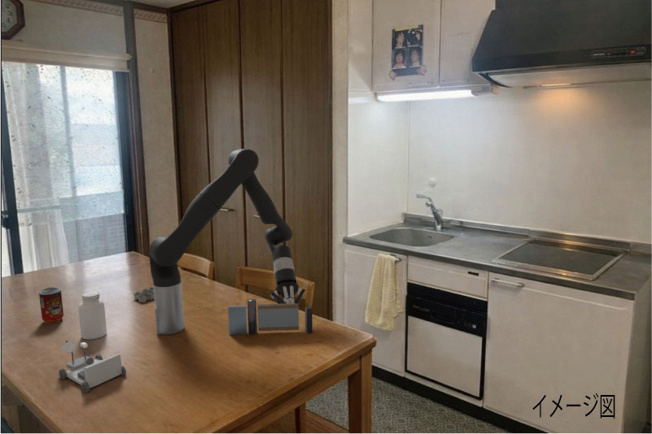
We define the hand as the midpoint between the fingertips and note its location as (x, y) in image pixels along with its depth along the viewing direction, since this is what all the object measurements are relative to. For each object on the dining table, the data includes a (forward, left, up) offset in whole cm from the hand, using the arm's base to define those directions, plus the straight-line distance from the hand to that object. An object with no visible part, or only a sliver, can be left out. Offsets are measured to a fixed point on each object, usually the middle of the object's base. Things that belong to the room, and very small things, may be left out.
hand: (291, 316), depth 166 cm
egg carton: (-49, +53, -6) cm, 72 cm away
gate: (-5, 0, -4) cm, 6 cm away
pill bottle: (-65, +19, -6) cm, 69 cm away
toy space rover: (-63, -10, -6) cm, 64 cm away
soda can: (-81, +38, -6) cm, 90 cm away
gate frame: (-8, 0, -5) cm, 9 cm away
